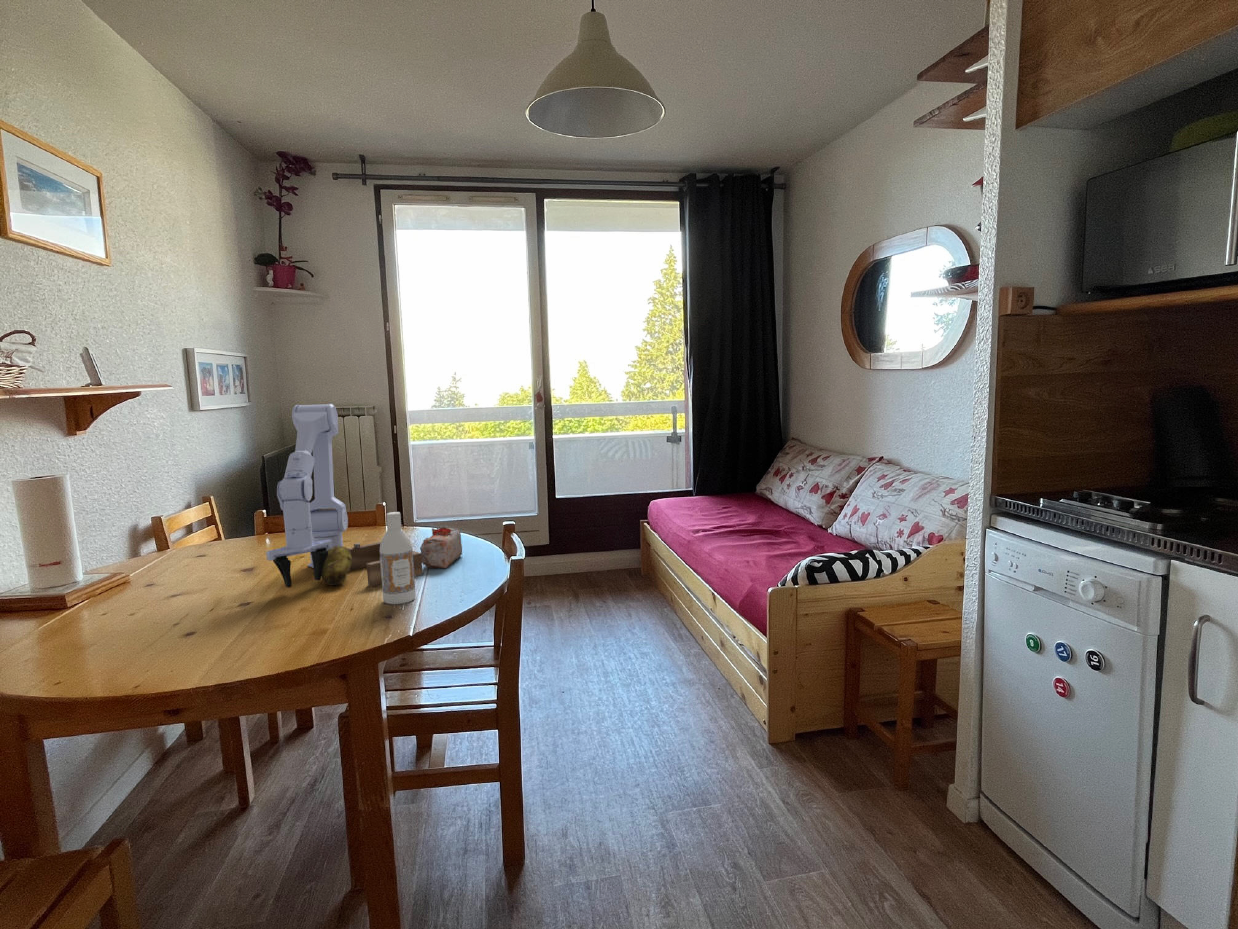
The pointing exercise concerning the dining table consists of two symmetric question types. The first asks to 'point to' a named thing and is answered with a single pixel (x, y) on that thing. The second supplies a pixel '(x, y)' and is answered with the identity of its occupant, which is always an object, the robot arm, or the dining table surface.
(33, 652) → the dining table surface
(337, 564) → the potato
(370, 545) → the cradle
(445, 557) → the food item
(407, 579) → the bath foam
